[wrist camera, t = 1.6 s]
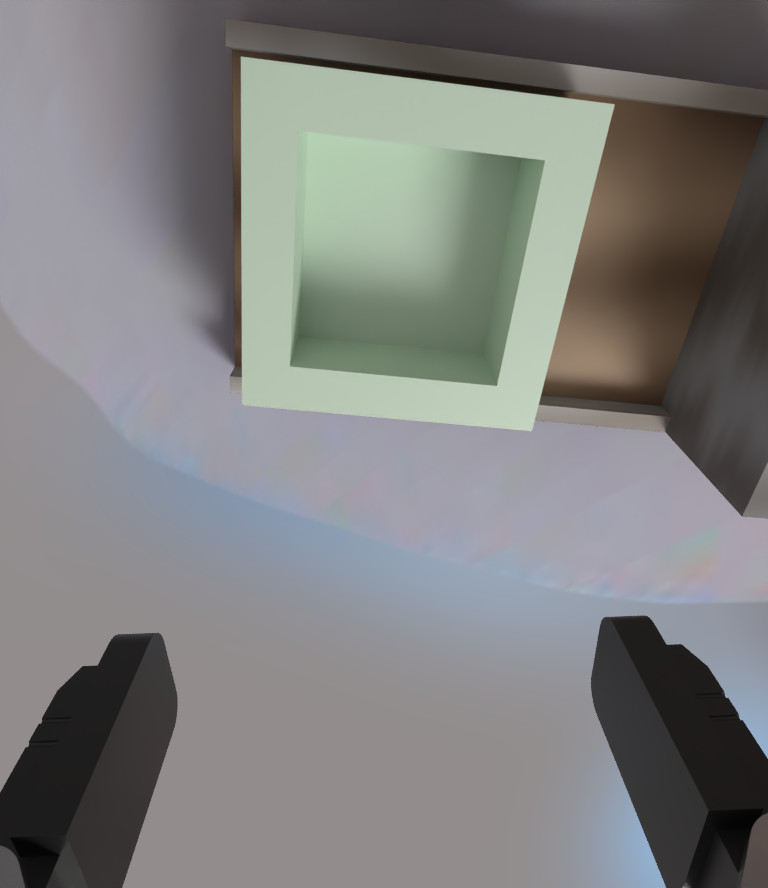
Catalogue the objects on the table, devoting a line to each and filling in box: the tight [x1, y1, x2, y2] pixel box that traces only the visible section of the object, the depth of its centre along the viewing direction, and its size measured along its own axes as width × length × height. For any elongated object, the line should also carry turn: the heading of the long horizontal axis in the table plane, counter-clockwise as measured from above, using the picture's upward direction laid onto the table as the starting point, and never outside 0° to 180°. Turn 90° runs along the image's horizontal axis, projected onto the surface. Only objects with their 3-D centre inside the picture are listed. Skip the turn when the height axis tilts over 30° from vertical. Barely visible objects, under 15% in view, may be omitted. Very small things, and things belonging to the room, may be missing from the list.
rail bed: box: [225, 19, 768, 519], centre depth 23 cm, size 14×22×9 cm, turn 84°
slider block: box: [241, 57, 615, 431], centre depth 23 cm, size 12×12×4 cm
